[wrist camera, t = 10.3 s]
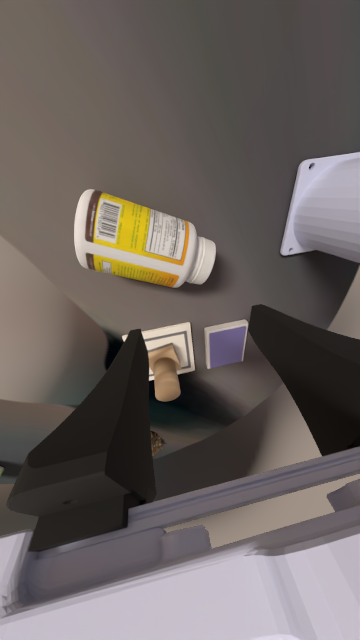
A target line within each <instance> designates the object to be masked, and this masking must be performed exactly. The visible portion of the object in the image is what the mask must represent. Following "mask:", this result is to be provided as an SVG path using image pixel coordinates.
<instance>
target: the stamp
mask: <svg viewBox="0 0 360 640" xmlns="http://www.w3.org/2000/svg"><path fill="white" fill-rule="evenodd" d="M148 356H149V367H150V369H151V370H152V372H153V373H154V380H155V396H156V398H157V399H158V400H160V401H171V400H174V399H176V398H177V397H178V396H179V395H180V387H179V381H178V376H177V371H176V370H180V369H182V368H181V364H180V360H179V357H178V355H177V353H176V350H175V348H174V346H173V343H169V344H166V345H163V346H160V347H157V348H154V349H151V350H148Z"/></svg>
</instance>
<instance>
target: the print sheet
mask: <svg viewBox="0 0 360 640" xmlns="http://www.w3.org/2000/svg"><path fill="white" fill-rule="evenodd" d="M142 335H143V338H144V341H145V344H146V347H147V350H151V349H154V348H157V347H160V346H163V345H166V344H169V343H173V346H174V348H175V350H176V353H177V355H178V357H179V360H180V364H181V368H182V369H180V370H176V371H177V374H181V373H186V372H190V371H195V365H194V356H193V347H192V337H191V328H190V322H187V323H182V324H178V325H173V326H168V327H163V328H158V329H153V330H148V331H143V332H142ZM127 336H128V335H123V336H122V338H123V340H124V342H125V340H126V338H127ZM150 380H154V373H153V372H152V370H151V369H150V367H149V381H150Z"/></svg>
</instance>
